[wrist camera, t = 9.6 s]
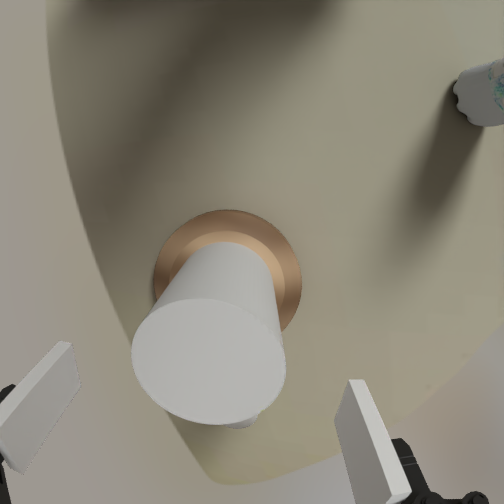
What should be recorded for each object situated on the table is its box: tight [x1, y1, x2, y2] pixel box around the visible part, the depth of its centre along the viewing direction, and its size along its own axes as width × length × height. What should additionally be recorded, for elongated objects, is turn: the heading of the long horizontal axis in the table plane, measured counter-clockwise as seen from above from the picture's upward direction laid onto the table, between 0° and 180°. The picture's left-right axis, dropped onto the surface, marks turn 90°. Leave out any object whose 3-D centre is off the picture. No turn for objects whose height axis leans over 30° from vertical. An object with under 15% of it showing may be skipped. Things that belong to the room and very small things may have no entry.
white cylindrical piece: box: [131, 242, 286, 425], centre depth 21 cm, size 8×8×12 cm
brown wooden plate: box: [154, 210, 302, 332], centre depth 28 cm, size 13×13×2 cm
